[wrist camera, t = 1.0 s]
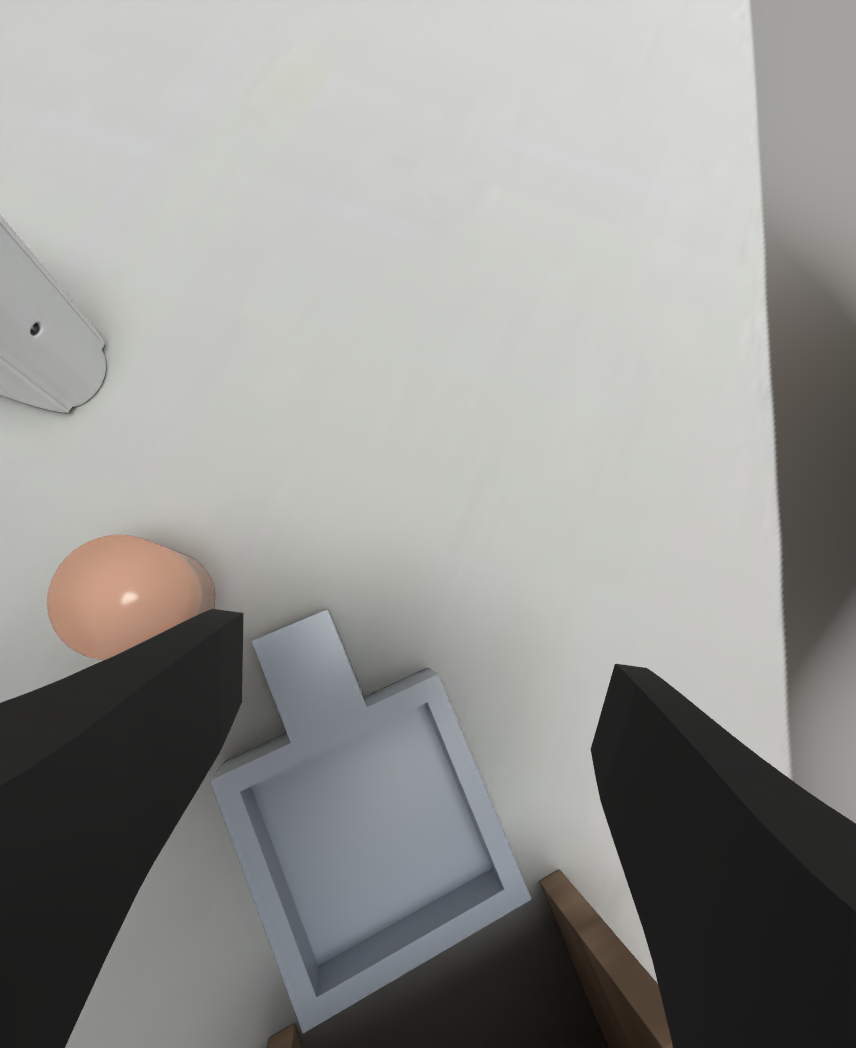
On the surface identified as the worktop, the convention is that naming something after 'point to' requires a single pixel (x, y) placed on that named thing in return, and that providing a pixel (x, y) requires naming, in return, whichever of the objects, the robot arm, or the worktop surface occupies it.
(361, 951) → the tray
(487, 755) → the worktop surface
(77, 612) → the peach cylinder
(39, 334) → the photo printer
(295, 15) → the worktop surface
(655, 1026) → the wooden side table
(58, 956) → the robot arm
